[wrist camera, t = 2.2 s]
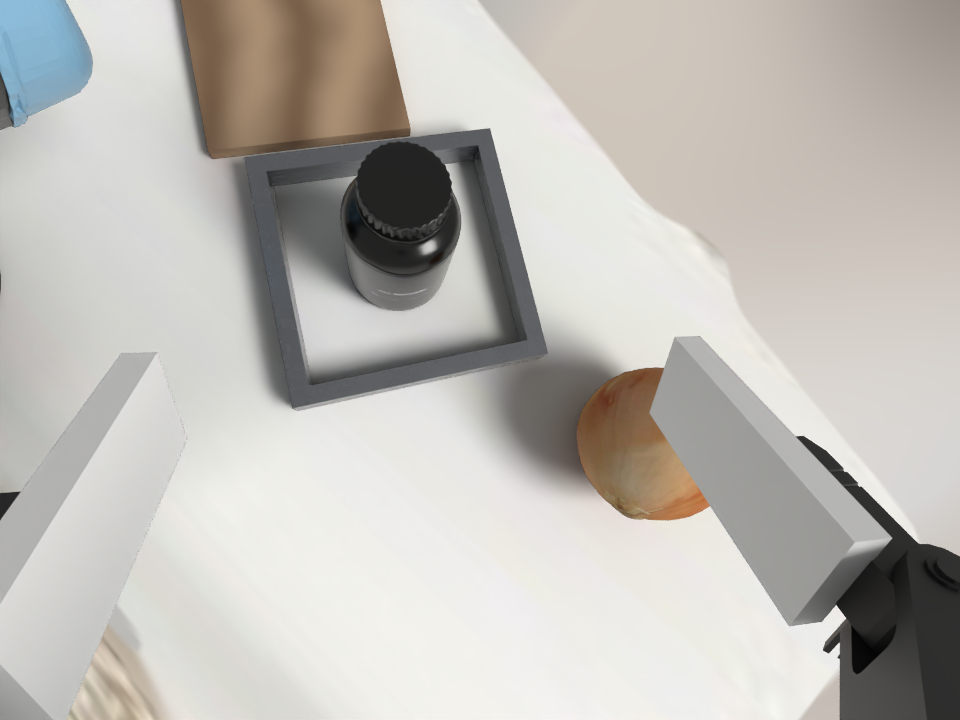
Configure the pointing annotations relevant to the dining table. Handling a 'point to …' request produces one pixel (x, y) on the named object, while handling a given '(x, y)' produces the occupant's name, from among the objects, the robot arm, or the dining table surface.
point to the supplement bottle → (400, 225)
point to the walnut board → (293, 74)
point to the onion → (634, 452)
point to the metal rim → (346, 163)
